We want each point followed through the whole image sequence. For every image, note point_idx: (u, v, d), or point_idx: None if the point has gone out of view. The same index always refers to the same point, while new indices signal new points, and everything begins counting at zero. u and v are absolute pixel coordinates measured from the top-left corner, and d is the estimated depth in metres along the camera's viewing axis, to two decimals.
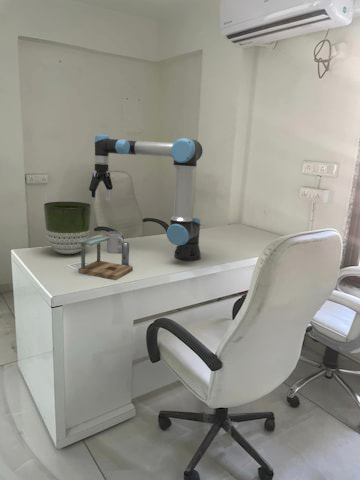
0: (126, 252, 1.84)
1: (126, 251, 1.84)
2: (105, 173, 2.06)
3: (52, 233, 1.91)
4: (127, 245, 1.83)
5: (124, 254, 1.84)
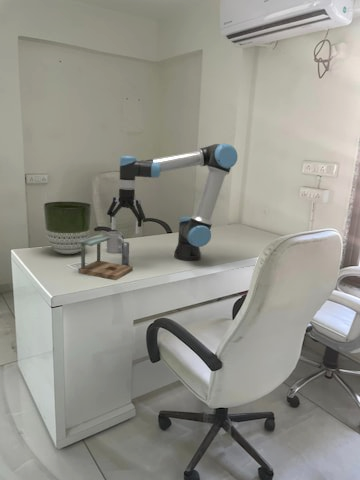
0: (126, 252, 1.84)
1: (126, 251, 1.84)
2: (129, 200, 1.78)
3: (52, 233, 1.91)
4: (127, 245, 1.83)
5: (124, 254, 1.84)
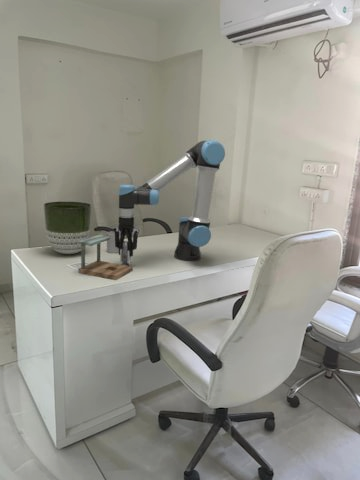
0: (126, 251, 1.84)
1: (126, 250, 1.84)
2: (129, 227, 1.81)
3: (52, 233, 1.91)
4: (127, 244, 1.83)
5: (125, 253, 1.84)
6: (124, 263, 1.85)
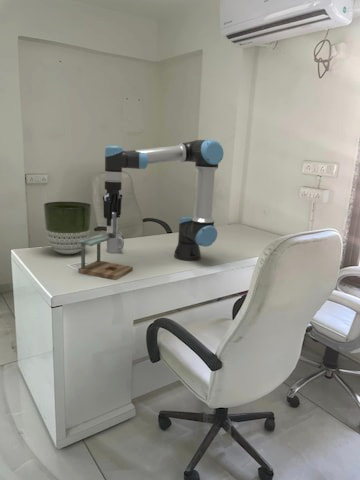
0: None
1: None
2: (118, 192, 1.69)
3: (52, 233, 1.91)
4: None
5: None
6: (115, 235, 1.71)
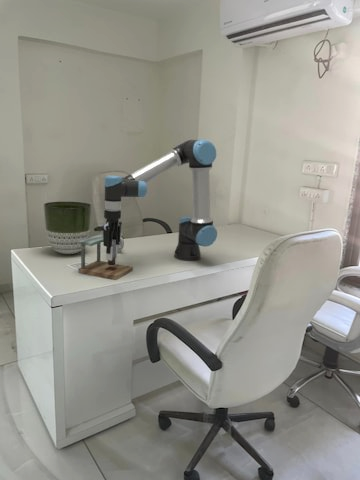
0: None
1: None
2: (117, 220, 1.72)
3: (52, 233, 1.91)
4: None
5: (115, 251, 1.73)
6: None
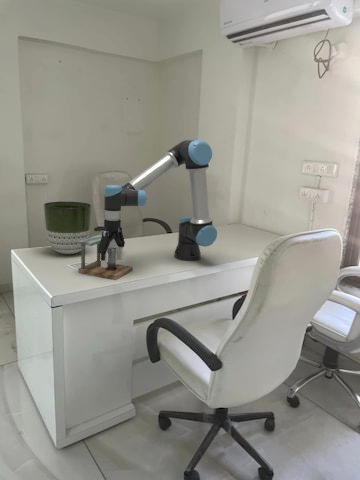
0: None
1: None
2: (116, 229, 1.72)
3: (52, 233, 1.91)
4: None
5: (115, 259, 1.74)
6: None
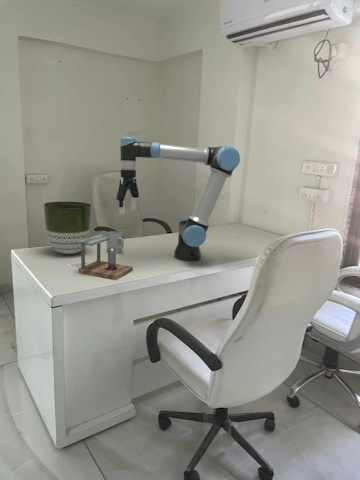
0: None
1: None
2: (132, 180, 1.85)
3: (52, 233, 1.91)
4: None
5: (115, 259, 1.74)
6: None
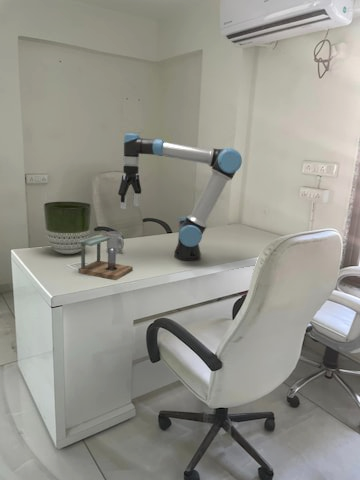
0: None
1: None
2: (134, 176, 1.88)
3: (52, 233, 1.91)
4: None
5: (115, 259, 1.74)
6: None
